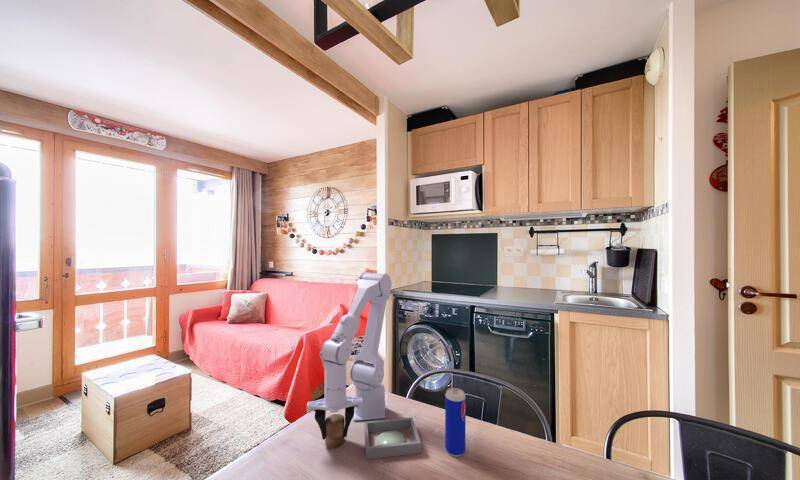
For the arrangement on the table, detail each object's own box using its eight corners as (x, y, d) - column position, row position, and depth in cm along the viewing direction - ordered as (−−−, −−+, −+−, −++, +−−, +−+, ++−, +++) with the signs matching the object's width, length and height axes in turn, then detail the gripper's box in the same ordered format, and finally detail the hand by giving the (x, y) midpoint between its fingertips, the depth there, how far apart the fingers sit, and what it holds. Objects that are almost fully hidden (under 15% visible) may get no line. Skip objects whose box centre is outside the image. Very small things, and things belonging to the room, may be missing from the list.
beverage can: (465, 459, 71) (465, 398, 71) (444, 456, 72) (444, 396, 72) (465, 445, 76) (465, 388, 76) (445, 442, 77) (445, 386, 77)
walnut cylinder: (344, 434, 80) (344, 413, 80) (344, 447, 75) (344, 424, 75) (326, 436, 79) (326, 414, 79) (324, 449, 74) (324, 426, 74)
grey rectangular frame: (412, 425, 84) (412, 417, 84) (420, 452, 73) (420, 443, 73) (364, 430, 82) (364, 421, 82) (365, 459, 71) (365, 449, 71)
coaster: (402, 430, 82) (402, 429, 82) (407, 449, 74) (407, 448, 74) (375, 433, 81) (375, 431, 81) (378, 452, 73) (378, 451, 73)
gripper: (304, 394, 72) (304, 449, 72) (362, 390, 74) (362, 443, 74) (309, 381, 79) (308, 431, 79) (362, 378, 81) (361, 426, 81)
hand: (334, 435), depth 77 cm, fingers closed on walnut cylinder, 5 cm apart
